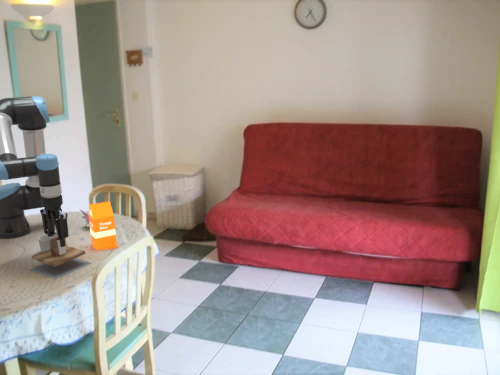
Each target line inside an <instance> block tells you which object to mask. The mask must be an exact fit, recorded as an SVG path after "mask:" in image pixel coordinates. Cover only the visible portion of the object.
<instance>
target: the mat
mask: <svg viewBox="0 0 500 375" xmlns="http://www.w3.org/2000/svg"><path fill="white" fill-rule="evenodd" d="M92 264H93V262H90V261H87V260H83V259H81V258H80V259H79V258H78V257H77V258H75V259H72V260H70V261H68V262H65V263H63V264H61V265H58V266H56V267H54V266H51V265H48V264H46V263H43V262H42V263H41V264H38V265H36V266H33V267H31V268H29V269H27V271H31V272H34V273H37V274H40V275H43V276H45V277H48V278H51V279H54V280H57V279H60V278H62V277H64V276H66V275H69V274H71V273H73V272H75V271H78V270H80V269H83V268H85V267H87V266H89V265H92Z"/></svg>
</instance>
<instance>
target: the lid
mask: <svg viewBox="0 0 500 375" xmlns="http://www.w3.org/2000/svg"><path fill="white" fill-rule="evenodd" d="M57 238H58V237H56V238H53V239H50V240H49V242H50V249H49V250H46V251H44V252H42V251H41V252H39V253H36V254H34V255H31V260H35V261H37V262H40V263H42V264H43V263H46V264H48V265H51V266H54V267H56V266H58V265H61V264H63V263H65V262H68V261H70V260H72V259H75V258H77V259H78V258H80V257H82V256H84V255H86V251H85V250H83V249H79V248H76V247H73V246H69V245H67V246H66V245H65V248H66V253H65V254H63V255H59V251H58V243H57Z"/></svg>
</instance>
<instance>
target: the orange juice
mask: <svg viewBox="0 0 500 375" xmlns="http://www.w3.org/2000/svg"><path fill="white" fill-rule="evenodd" d="M88 214H89V223H88V224H89V232H90V233H89V234H90V242H91V246H92V248H94V250H95V251H101V250H112V249H115V248H116V249H117V247H118V245H117V235H116V234H117V232H116V224H115V223H116V222H115V215H114V212H113V208H112V205H111V201H109V200H108V201H103V202H97V203H91V204H89V208H88Z"/></svg>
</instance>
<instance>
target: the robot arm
mask: <svg viewBox="0 0 500 375" xmlns="http://www.w3.org/2000/svg"><path fill="white" fill-rule="evenodd" d="M49 114H50V113H49V111H48V107H47V103H46V101H45V99H44V98H43V97H42V96H33V95H32V96H31V95H30V96H20V97H19V96H17V97H5V98H2V99H0V181H7V180H15V179H21V178H27V179H26V180H25V184H24V185H21V184H20V183H19V182H10V183H5V184H2V185H0V239H5V240H7V239H15V238H19V237H24V236H26V235H28V234H29V233H30V232H31V231H32V228H31V225H30V223H29V221H28V219H27V217H26V216H25V211H28V210H36V209H40V210H39V211H40V212H39V213H40V215H41V221H42V226H43V234H47V235H48V236H49V240H50V239H53V238H56V237H57V236H56V235H54V234H56V233H55V232H56V231H57V235H58V238H57V243H58V251H59V255H63V254H65V253H66V248H65V245H66V244H65V238H66V239H67V238H69V227H68V213H67V212H65V213H64V212H63V209H62V205H63V203H64V201H63V195H62V193H63V191H62V183H61V177H60V176H61V175H60V169H59V164H60V163H59V160H58V156H57V154H54V153H53V154H52V153H46V145H45V144H46V143H45V142H46V141H45V134H44V130H45V129H46V128H47V123H50V121H51V120H50V115H49ZM14 125H15V126H16V125H17V127H18V129H19V130H21V132H22V136H23V138H22V139H23V144H24V146H23V147H24V154H25V157H18V153H17V149H16V145H15V139H14V137H13V136H14V135H13V131H12V127H13V126H14ZM55 230H56V231H55Z"/></svg>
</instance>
